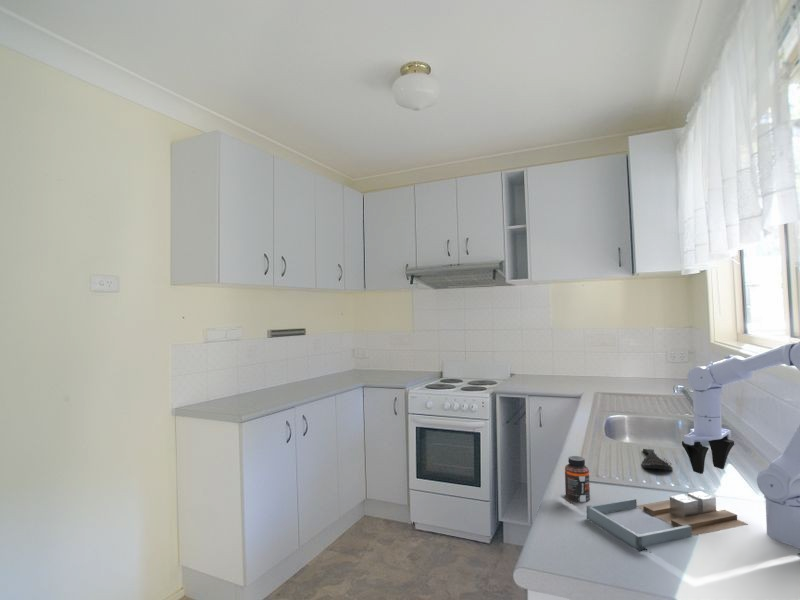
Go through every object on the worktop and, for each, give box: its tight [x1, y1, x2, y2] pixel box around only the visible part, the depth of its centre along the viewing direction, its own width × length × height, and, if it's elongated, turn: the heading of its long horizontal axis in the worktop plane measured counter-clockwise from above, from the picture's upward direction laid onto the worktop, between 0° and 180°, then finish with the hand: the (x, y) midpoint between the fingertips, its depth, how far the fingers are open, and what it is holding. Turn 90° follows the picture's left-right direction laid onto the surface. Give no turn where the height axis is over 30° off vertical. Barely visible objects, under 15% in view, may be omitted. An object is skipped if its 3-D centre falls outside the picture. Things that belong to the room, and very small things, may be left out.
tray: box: [586, 497, 693, 553], centre depth 105 cm, size 16×14×3 cm
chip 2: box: [687, 490, 717, 515], centre depth 110 cm, size 4×4×4 cm
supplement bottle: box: [564, 455, 591, 504], centre depth 120 cm, size 6×6×11 cm
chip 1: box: [669, 493, 698, 518], centre depth 109 cm, size 4×4×4 cm
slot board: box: [637, 499, 749, 536], centre depth 109 cm, size 16×16×2 cm
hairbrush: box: [641, 448, 674, 471], centre depth 150 cm, size 8×4×25 cm
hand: (708, 470), depth 114 cm, fingers open, 7 cm apart
